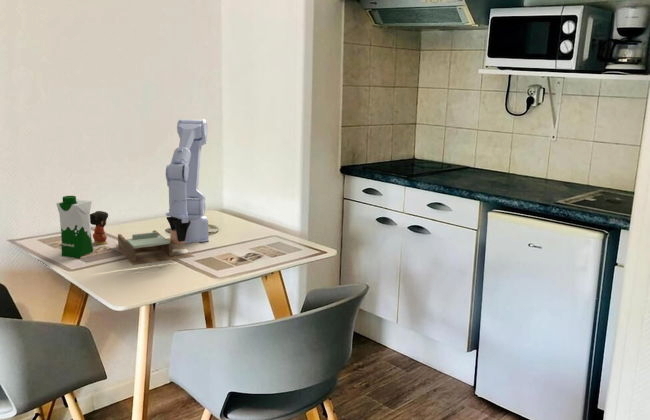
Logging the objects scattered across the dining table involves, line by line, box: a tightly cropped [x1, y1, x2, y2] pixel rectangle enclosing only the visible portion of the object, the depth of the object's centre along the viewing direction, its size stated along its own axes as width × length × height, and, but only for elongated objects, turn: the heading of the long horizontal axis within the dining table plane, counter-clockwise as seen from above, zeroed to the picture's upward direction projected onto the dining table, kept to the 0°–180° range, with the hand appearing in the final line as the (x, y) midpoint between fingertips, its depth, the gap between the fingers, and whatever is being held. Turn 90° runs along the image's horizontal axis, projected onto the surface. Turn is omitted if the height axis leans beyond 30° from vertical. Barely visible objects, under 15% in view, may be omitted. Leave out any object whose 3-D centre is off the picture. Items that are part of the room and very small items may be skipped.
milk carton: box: [55, 195, 94, 259], centre depth 195 cm, size 9×9×20 cm
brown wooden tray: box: [115, 229, 195, 266], centre depth 202 cm, size 20×25×5 cm
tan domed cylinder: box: [169, 229, 186, 245], centre depth 200 cm, size 5×5×4 cm
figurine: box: [90, 210, 109, 246], centre depth 208 cm, size 6×6×12 cm
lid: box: [126, 231, 169, 248], centre depth 196 cm, size 12×9×2 cm
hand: (179, 239), depth 200 cm, fingers closed on tan domed cylinder, 5 cm apart
